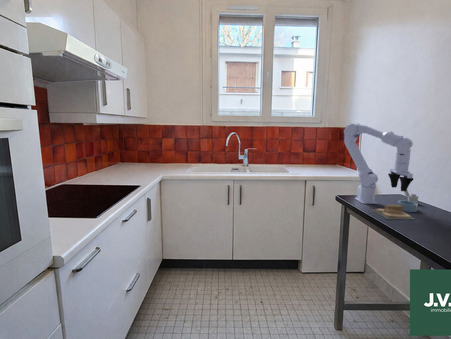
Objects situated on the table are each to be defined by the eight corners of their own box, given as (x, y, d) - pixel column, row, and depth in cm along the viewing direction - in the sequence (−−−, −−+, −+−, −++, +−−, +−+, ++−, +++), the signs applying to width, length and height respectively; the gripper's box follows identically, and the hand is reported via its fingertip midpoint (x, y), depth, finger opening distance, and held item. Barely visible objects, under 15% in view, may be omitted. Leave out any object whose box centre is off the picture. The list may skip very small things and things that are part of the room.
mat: (371, 209, 131) (371, 209, 131) (397, 210, 131) (397, 209, 131) (386, 219, 118) (386, 218, 118) (415, 219, 118) (415, 218, 118)
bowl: (393, 206, 136) (394, 200, 136) (409, 206, 136) (410, 200, 136) (403, 211, 129) (404, 205, 128) (420, 212, 128) (421, 205, 128)
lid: (376, 210, 130) (377, 202, 129) (396, 210, 130) (397, 202, 129) (388, 217, 120) (389, 209, 119) (410, 217, 120) (411, 209, 119)
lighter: (415, 203, 142) (417, 189, 141) (417, 204, 141) (419, 189, 139) (401, 202, 144) (403, 188, 142) (402, 203, 142) (404, 189, 141)
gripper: (420, 165, 123) (416, 193, 126) (400, 160, 137) (397, 185, 140) (405, 164, 123) (401, 192, 126) (387, 160, 137) (384, 185, 140)
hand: (398, 189), depth 133 cm, fingers open, 7 cm apart
